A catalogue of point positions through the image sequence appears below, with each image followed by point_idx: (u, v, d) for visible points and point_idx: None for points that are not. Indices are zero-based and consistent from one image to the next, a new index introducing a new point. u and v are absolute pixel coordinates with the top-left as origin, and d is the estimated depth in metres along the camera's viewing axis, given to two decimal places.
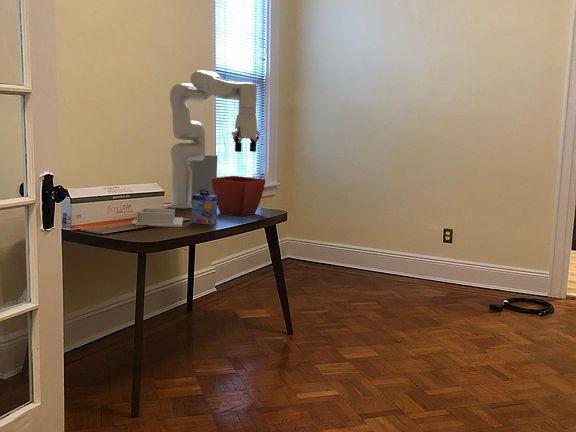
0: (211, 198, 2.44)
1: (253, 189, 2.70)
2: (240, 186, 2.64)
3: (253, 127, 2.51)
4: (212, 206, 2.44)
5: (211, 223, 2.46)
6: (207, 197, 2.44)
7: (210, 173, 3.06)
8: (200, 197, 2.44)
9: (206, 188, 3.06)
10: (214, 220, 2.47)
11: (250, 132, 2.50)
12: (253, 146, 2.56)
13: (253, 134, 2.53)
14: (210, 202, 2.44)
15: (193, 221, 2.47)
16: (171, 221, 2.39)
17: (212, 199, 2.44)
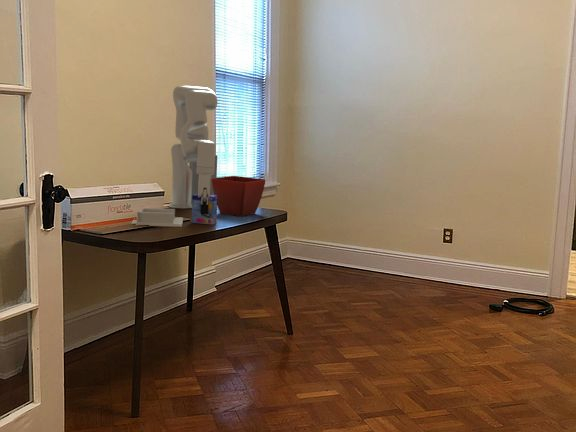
0: (211, 198, 2.44)
1: (253, 189, 2.70)
2: (240, 186, 2.64)
3: None
4: (212, 206, 2.44)
5: (211, 223, 2.46)
6: None
7: None
8: (200, 197, 2.44)
9: (206, 188, 3.06)
10: (214, 220, 2.47)
11: None
12: None
13: None
14: (210, 202, 2.44)
15: (193, 221, 2.47)
16: (171, 221, 2.39)
17: (212, 199, 2.44)
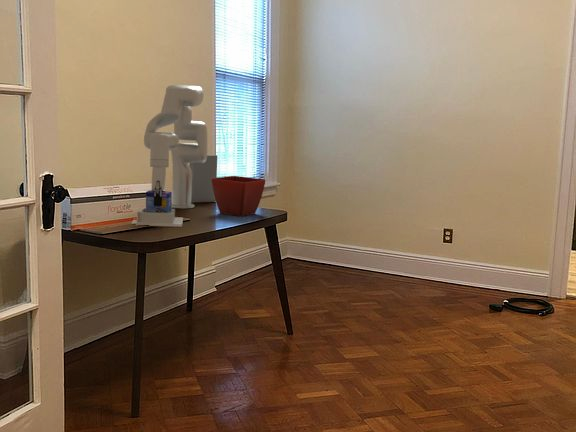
0: (165, 195, 2.39)
1: (253, 189, 2.70)
2: (240, 186, 2.64)
3: None
4: (167, 203, 2.40)
5: None
6: (161, 194, 2.39)
7: (210, 173, 3.06)
8: None
9: (206, 188, 3.06)
10: None
11: (164, 184, 2.42)
12: None
13: None
14: (164, 199, 2.39)
15: None
16: (171, 221, 2.39)
17: (166, 196, 2.39)
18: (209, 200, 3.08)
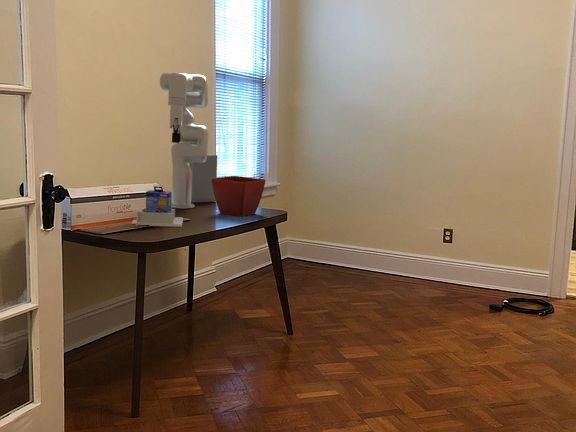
0: (165, 195, 2.39)
1: (253, 189, 2.70)
2: (240, 186, 2.64)
3: None
4: (167, 203, 2.40)
5: None
6: (161, 194, 2.39)
7: (210, 173, 3.06)
8: (154, 194, 2.39)
9: (206, 188, 3.06)
10: None
11: None
12: None
13: None
14: (164, 199, 2.39)
15: None
16: (171, 221, 2.39)
17: (166, 196, 2.39)
18: (209, 200, 3.08)
